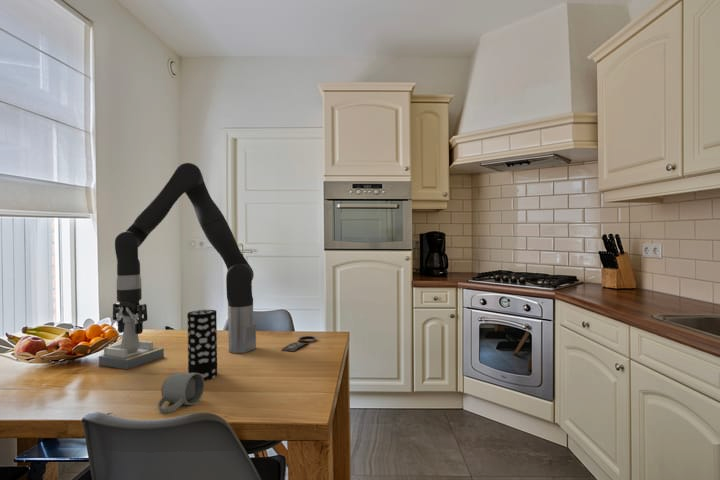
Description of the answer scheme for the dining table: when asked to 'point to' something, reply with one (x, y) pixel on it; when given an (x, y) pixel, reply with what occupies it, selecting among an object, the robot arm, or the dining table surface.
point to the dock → (130, 355)
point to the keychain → (299, 343)
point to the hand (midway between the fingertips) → (130, 332)
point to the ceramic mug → (181, 390)
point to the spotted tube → (202, 343)
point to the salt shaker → (129, 336)
